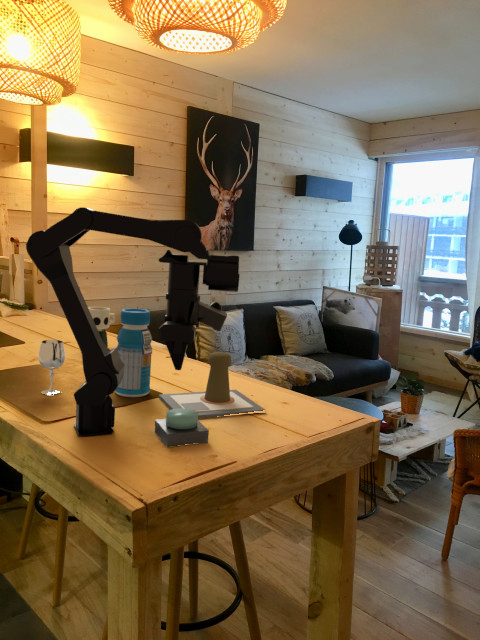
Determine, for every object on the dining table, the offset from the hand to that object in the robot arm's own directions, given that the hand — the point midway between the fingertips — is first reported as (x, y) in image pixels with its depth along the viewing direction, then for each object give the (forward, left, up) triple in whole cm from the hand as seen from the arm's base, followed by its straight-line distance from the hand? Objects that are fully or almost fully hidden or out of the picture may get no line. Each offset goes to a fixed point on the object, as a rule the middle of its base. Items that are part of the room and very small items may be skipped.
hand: (178, 369), depth 103 cm
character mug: (0, +78, -13) cm, 79 cm away
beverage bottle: (-1, +28, -13) cm, 31 cm away
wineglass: (-19, +32, -13) cm, 40 cm away
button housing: (+1, -2, -13) cm, 13 cm away
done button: (+1, -2, -10) cm, 10 cm away
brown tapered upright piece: (+16, +16, -12) cm, 25 cm away
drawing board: (+14, +15, -13) cm, 24 cm away
